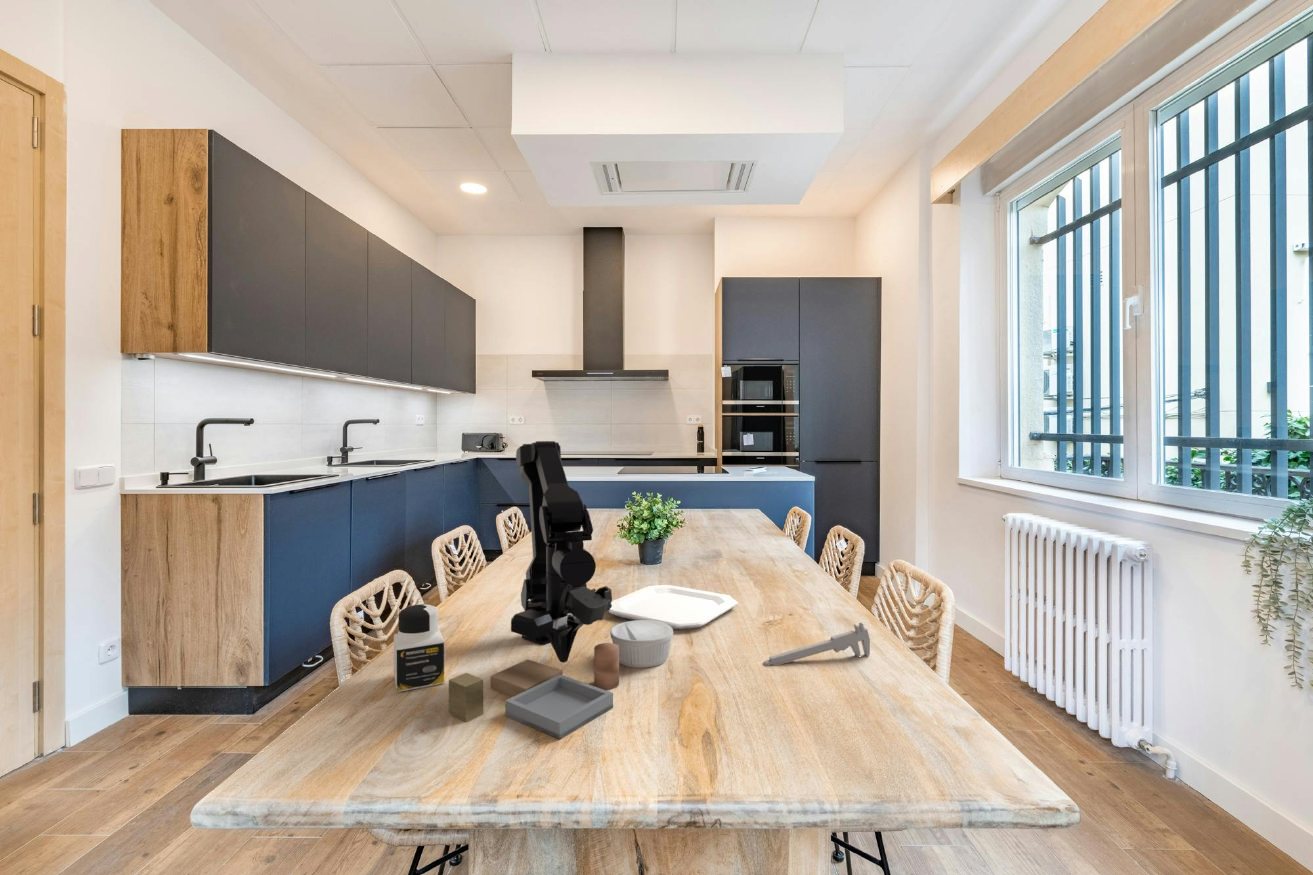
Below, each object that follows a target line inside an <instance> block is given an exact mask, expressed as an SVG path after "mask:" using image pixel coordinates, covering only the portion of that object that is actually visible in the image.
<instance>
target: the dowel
mask: <svg viewBox="0 0 1313 875" xmlns="http://www.w3.org/2000/svg"><path fill="white" fill-rule="evenodd" d="M593 653H594V654H593V657H594V658H593V662H594V663H593V665H594V666H593V669H594V671H593V682H594V684H593V686H595V687H597V688H600V689H603V690H606V691H610V690H614V689H616V688H618V687H619V686H620V662H619V646H618V645H616V644H613V642H611V643H610V642H604V643H599V644H596V645H595V646H594V648H593Z"/></svg>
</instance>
